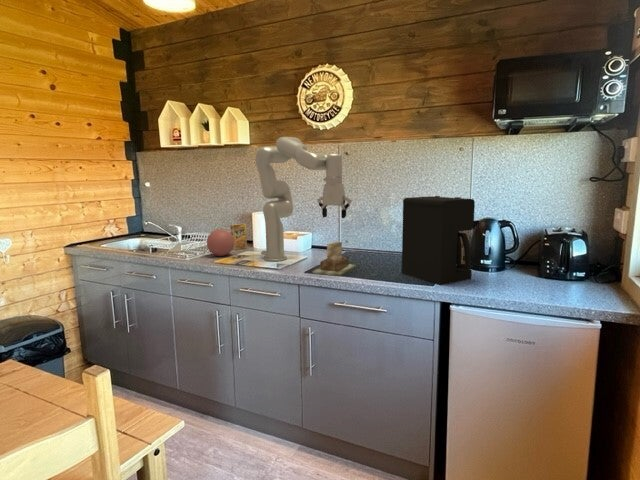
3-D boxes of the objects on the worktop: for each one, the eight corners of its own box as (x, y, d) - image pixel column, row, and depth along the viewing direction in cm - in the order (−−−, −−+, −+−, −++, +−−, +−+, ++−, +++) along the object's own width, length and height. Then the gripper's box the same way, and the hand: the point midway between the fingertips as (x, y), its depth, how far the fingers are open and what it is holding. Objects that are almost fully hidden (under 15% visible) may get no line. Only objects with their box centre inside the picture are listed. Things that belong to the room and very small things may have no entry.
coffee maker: (480, 280, 176) (484, 198, 171) (447, 287, 167) (450, 200, 161) (432, 268, 201) (434, 195, 195) (401, 273, 191) (402, 197, 185)
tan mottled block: (327, 269, 197) (327, 244, 195) (334, 265, 204) (334, 241, 202) (335, 269, 195) (334, 244, 193) (341, 266, 202) (341, 242, 200)
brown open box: (312, 273, 194) (312, 262, 193) (330, 264, 211) (330, 254, 211) (339, 276, 188) (339, 265, 187) (356, 266, 205) (356, 256, 204)
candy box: (234, 249, 254) (232, 225, 252) (231, 248, 258) (230, 224, 255) (247, 248, 259) (246, 223, 257) (244, 247, 263) (243, 223, 260)
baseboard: (163, 254, 247) (184, 253, 248) (163, 249, 246) (184, 248, 248) (175, 245, 277) (193, 244, 279) (175, 240, 277) (193, 240, 278)
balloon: (243, 252, 246) (242, 226, 243) (226, 259, 227) (224, 231, 225) (221, 251, 251) (220, 225, 248) (202, 257, 232) (200, 230, 229)
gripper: (313, 181, 193) (314, 217, 196) (348, 181, 185) (348, 219, 188) (320, 180, 200) (321, 215, 203) (354, 180, 192) (354, 217, 195)
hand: (334, 217), depth 195 cm, fingers open, 9 cm apart
